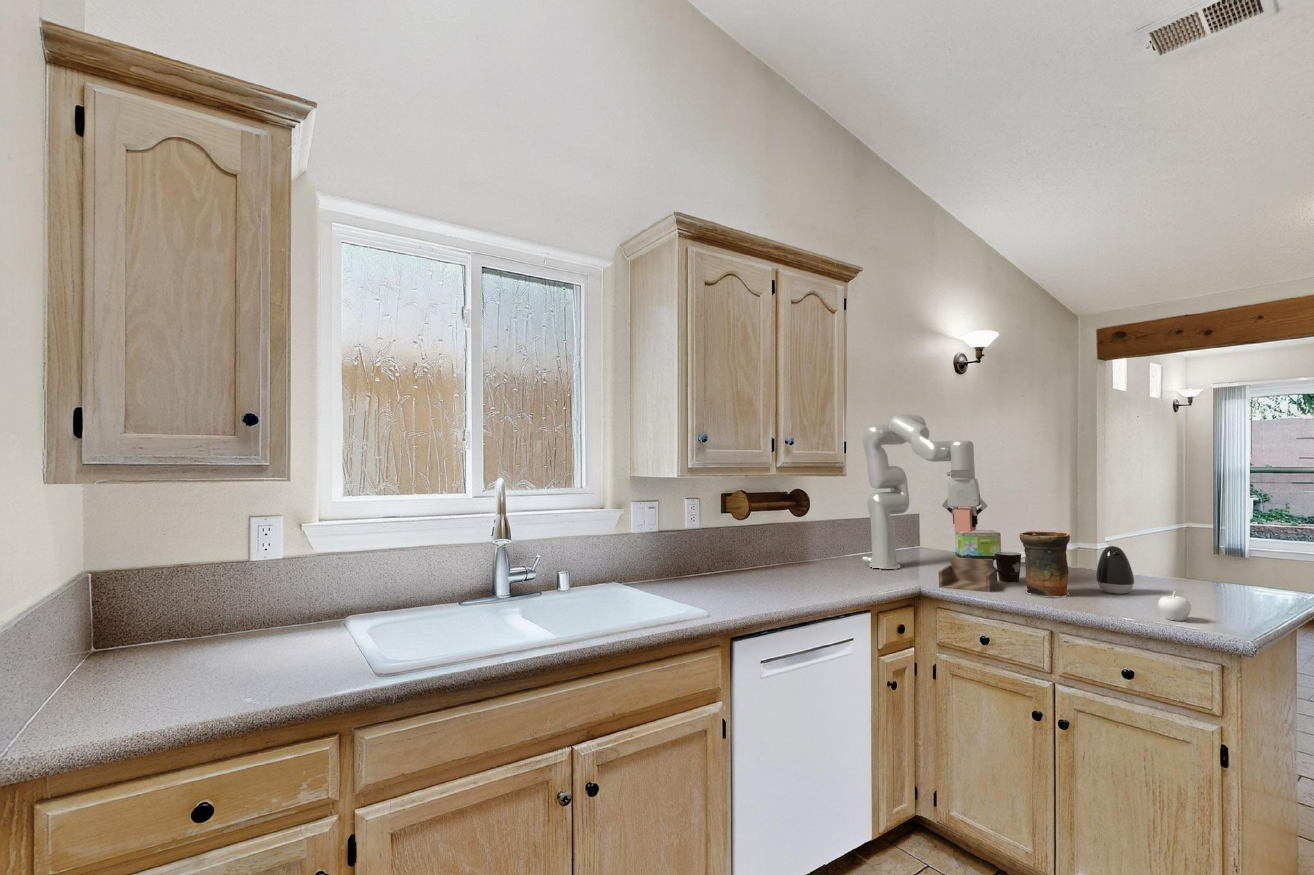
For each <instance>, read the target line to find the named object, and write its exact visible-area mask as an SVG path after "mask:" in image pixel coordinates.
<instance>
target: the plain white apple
mask: <svg viewBox="0 0 1314 875" xmlns="http://www.w3.org/2000/svg"><path fill="white" fill-rule="evenodd" d="M1176 594H1177V593H1176V590H1173V593H1172V595H1165V596H1162V597H1161V598H1159V599H1158V601H1157V605H1158V608H1159V610H1160V612H1161V614H1162V615H1163V617H1164V618H1165V619H1166V618H1167V620H1169V621H1173V620H1175V621H1174V622H1182V621H1185V620H1186V619H1187V618H1188V617H1189V615H1190V613H1191V612H1192V604H1191V603H1190V601H1189V600H1188V598H1185V597H1182V596H1178V595H1176ZM1175 595H1176V596H1175Z"/></svg>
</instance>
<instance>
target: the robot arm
mask: <svg viewBox="0 0 1314 875" xmlns="http://www.w3.org/2000/svg"><path fill="white" fill-rule="evenodd" d="M929 438H930V430H929V428H928V427H927V422H926V420H925V418H924V417H923V416H921V415H919V414H915V413H914V414H908V413H907V414H905V413H904V414H896V415H894V416H892V417H891V418H890V419H889V422H888V424H874V425H870V426H869V427H867V428H866V430H865V431H864V433H863V435H862V444H863V449H864V452H865V456H866V463H867V465H866V466H867V474H868V475H867V476H868V482H869V485H870V486H871V488H874V489H876V490H877V489H880V490H885V489H886V490H887V489H890V490H889V491H878V492H873V493H872V494H870V495H869V496H868V498H867V503H866V504H867V509H868V513H869V518H870V531H871V534H870V535H871V556H863V557H862V561H863V562H866V563H868V562H869V563H868V567H869V566H870V567H872V568H871V569H873V568H886V569H893V568H899V569H901V568H900V567H901V565H900V564H898V563H897V547H896V545H897V544H896V526H895V522H894V519H892V517H891V515H899V514H905V512H907V511H908V509H909V506H910V497H909V496H910V495H909V487H908V478H907V475H906V474H907V473H906V472H905V471H904V469H903V468H902V467H900V466H898V465H889V458H888V457H889V456H888V454H887V452H886V451H885V449H884V447H882V446H883V445H884V446H885V445H889V446H891V445H896V446H897V445H903V444H906V443H909V444H910V447H911V449H912V452H913V453H915V455H916V456H919V457H921V458H922V459H924V460H926V461H928V462H933V463H934V462H950V466H951V467H950V469H951V470H950V471H947V472H946V476H948V477H950V479H948V486H947V499H946V500H945V501H944V502H943V503H942V505H941V506H942V507H943V508H944V509H946V510H947V511H948V512H949V513H950V515H952V524H953V525H954V510H956V509H959V508H971V510H972V513H973V516H972V527H976V528H977V525H978V521H979V520H978V515H980V513H982V511H984V510H985V509H987V508H988V507H989V506H988V504H987V503H986V502H985V500H983V498H981V491H980V486H979V482H978V478H976V472H975V471H976V470H975V452H974V450H975V449H974V446H975V445H974V443H973V441H971V440H930V439H929ZM977 507H978V508H977ZM870 567H869V568H870Z"/></svg>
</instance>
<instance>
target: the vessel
mask: <svg viewBox="0 0 1314 875" xmlns="http://www.w3.org/2000/svg"><path fill="white" fill-rule="evenodd" d="M1019 540H1020V542H1021V543H1022V546H1023V547H1024V548H1023V550H1024V556H1025V558H1024V562H1025V580H1026V581H1025V582H1026V591H1027V592H1028V593H1031V594H1032V595H1039V596H1038V597H1041V598H1042V597H1043V598H1060V597H1061V598H1063V597H1065V598H1066V597H1067V596H1065V595H1069V596H1071V594H1070V592H1069V591H1068V582H1069V573H1070V572H1069V564H1068V557H1067V549H1068V544H1069V543H1070V540H1071V536H1070V533H1068V532H1062V531H1046V530H1045V531H1044V530H1031V531H1030V530H1029V531H1026V532H1020V533H1019ZM1032 595H1031V596H1032Z"/></svg>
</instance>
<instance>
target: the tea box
mask: <svg viewBox="0 0 1314 875" xmlns="http://www.w3.org/2000/svg"><path fill="white" fill-rule="evenodd" d="M954 532H955V531H954ZM954 536H955V558H970V559H985V560H992V559H993V558H995V552H1002V540H1001V539H1002V537H1001V536H1002V535H1001V533H1000V532H999V531H995V530H992V529H991V530H989V529H987V530H985V529H976V530H974V531H972V532H955V534H954ZM993 563H994V567H995V568H996V569H997V564H996V560H994V561H993Z"/></svg>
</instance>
